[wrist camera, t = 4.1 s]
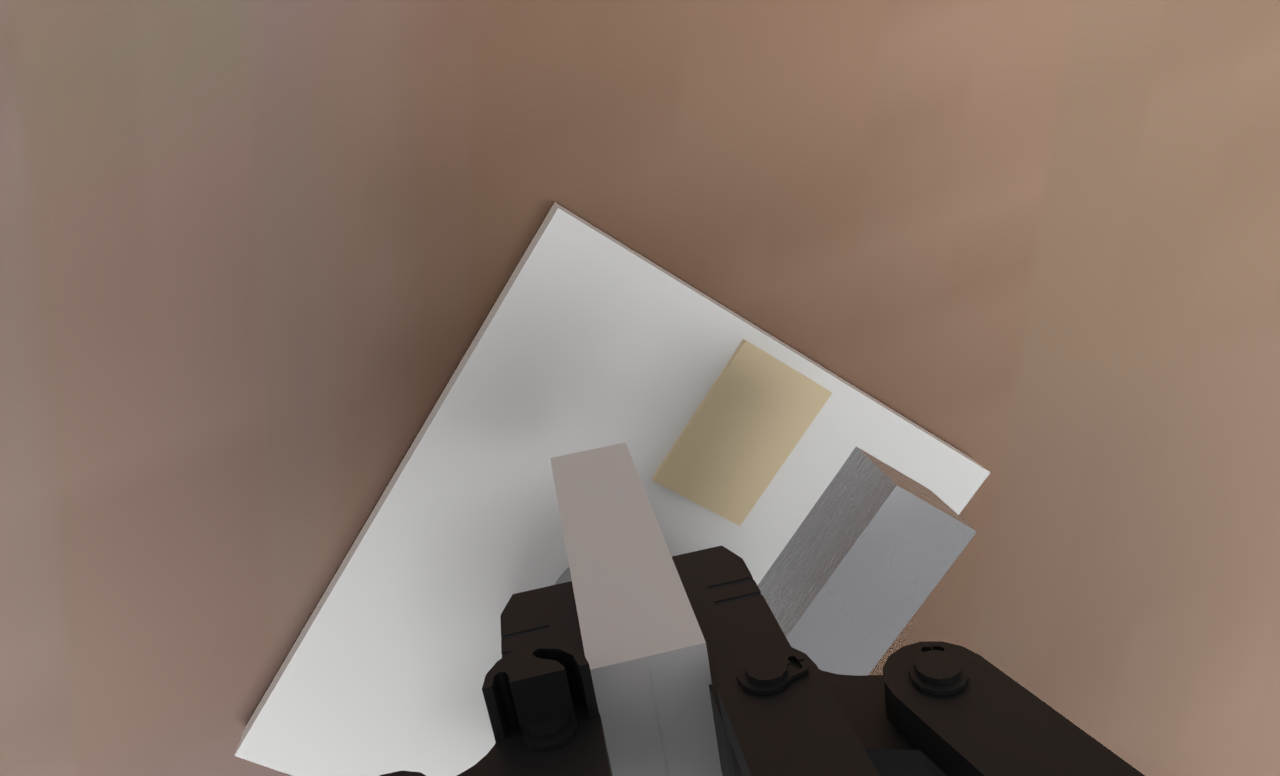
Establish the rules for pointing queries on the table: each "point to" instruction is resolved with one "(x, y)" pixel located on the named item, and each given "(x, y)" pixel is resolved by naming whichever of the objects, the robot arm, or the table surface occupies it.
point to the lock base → (527, 501)
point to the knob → (862, 565)
